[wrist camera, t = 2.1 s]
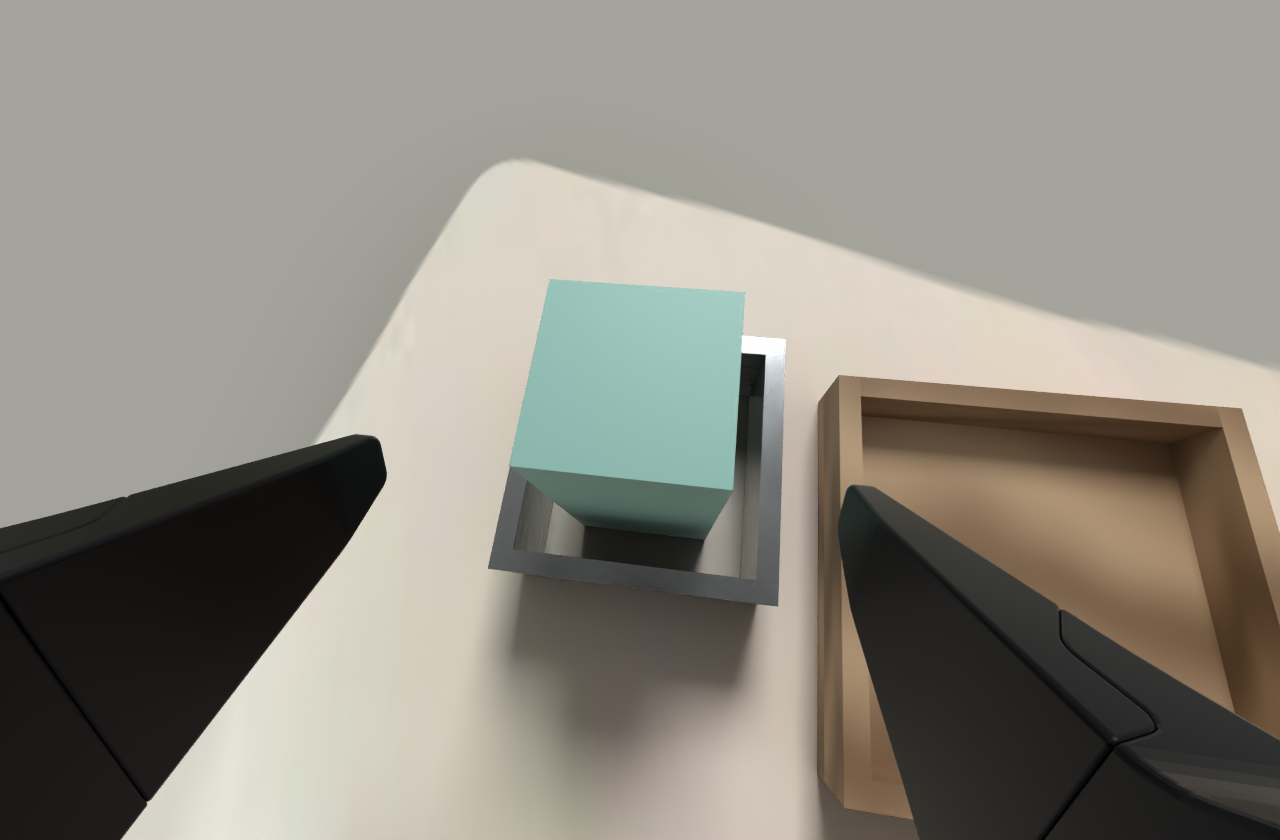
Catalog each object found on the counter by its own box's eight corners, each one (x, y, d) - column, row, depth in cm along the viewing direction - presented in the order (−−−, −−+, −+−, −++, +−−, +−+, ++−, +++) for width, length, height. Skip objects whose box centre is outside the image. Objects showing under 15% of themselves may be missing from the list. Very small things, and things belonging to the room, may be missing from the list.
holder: (757, 604, 19) (778, 606, 15) (523, 573, 20) (487, 568, 16) (766, 382, 22) (785, 339, 18) (563, 365, 23) (541, 320, 19)
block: (704, 539, 20) (733, 490, 10) (584, 525, 20) (509, 465, 11) (713, 424, 21) (744, 292, 12) (602, 413, 22) (549, 279, 13)
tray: (1268, 848, 15) (1391, 900, 13) (817, 774, 17) (844, 807, 14) (1167, 433, 20) (1241, 408, 17) (818, 402, 21) (839, 375, 19)
